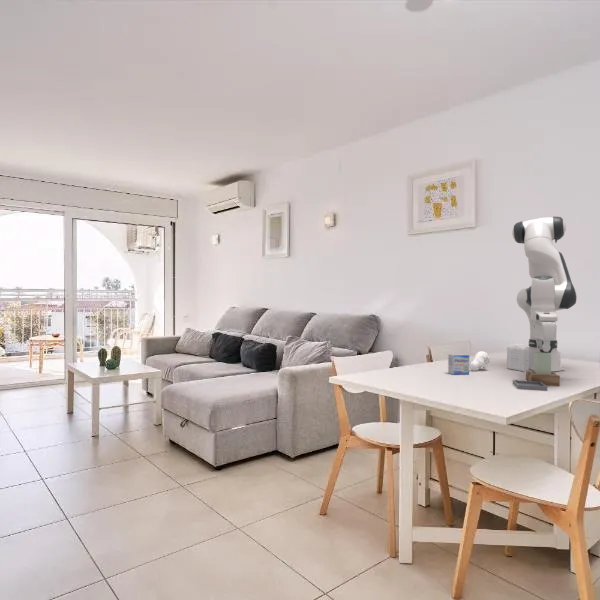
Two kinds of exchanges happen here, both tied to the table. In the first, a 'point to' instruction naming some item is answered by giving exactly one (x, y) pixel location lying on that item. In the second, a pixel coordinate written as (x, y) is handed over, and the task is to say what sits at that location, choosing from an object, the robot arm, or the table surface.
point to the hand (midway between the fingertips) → (542, 350)
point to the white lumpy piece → (480, 361)
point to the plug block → (542, 363)
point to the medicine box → (458, 364)
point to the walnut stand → (543, 378)
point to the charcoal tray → (529, 385)
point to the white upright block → (518, 357)
